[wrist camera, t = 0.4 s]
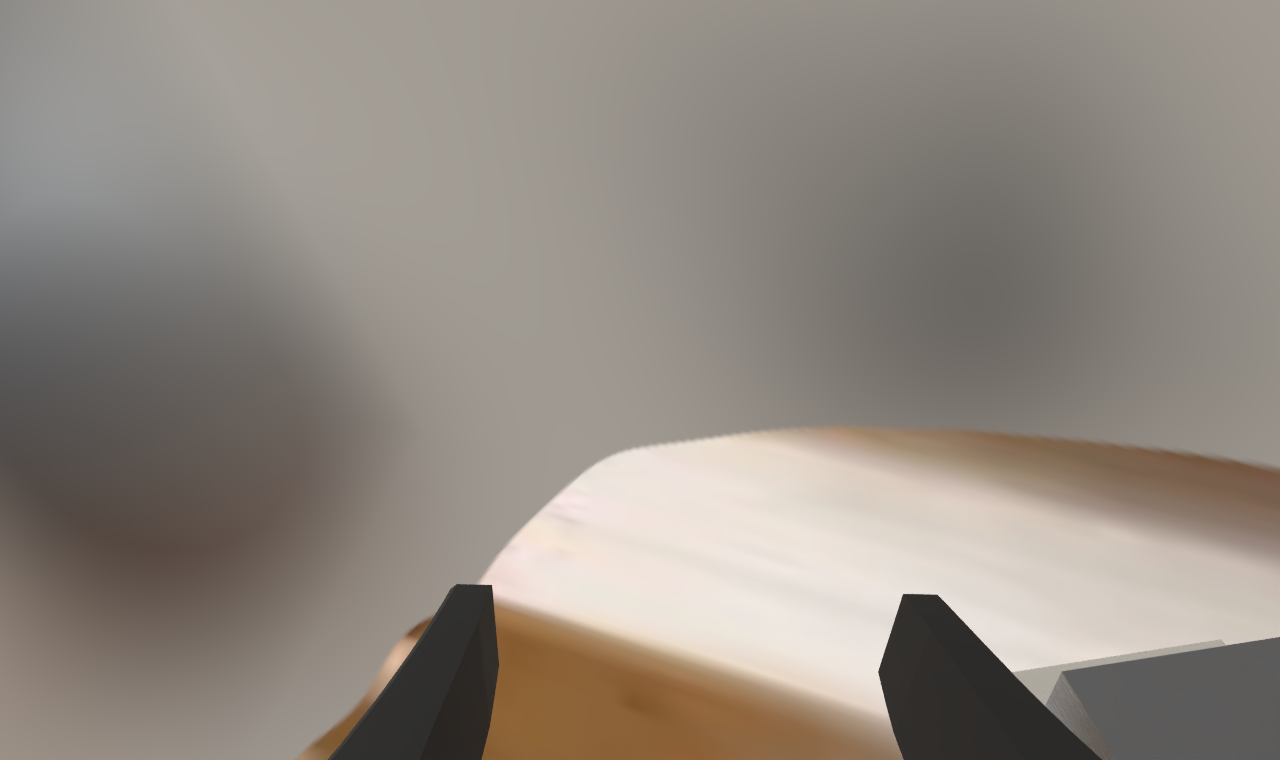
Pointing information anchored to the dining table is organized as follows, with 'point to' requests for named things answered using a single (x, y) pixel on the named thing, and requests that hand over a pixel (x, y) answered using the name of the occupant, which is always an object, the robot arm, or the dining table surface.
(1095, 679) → the bearing block
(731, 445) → the dining table surface
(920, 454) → the dining table surface
